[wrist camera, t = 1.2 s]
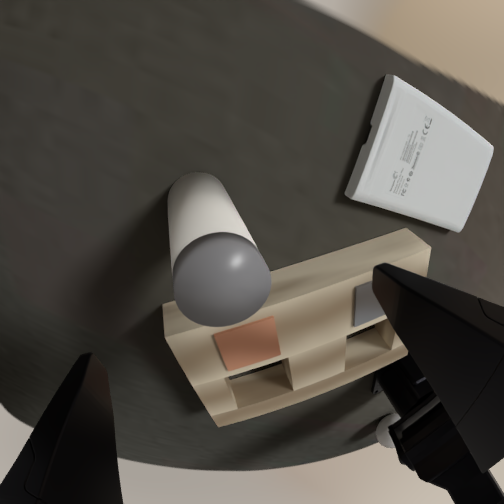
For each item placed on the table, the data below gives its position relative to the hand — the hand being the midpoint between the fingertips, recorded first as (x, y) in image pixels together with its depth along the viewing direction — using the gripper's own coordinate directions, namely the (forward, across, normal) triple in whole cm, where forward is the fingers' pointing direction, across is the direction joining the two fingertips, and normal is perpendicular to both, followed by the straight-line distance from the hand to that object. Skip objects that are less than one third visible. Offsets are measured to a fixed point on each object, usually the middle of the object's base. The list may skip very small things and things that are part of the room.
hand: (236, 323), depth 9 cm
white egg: (+10, -18, +41) cm, 46 cm away
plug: (+10, 0, 0) cm, 10 cm away
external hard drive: (+10, -16, +1) cm, 19 cm away
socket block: (+10, -5, +12) cm, 16 cm away
